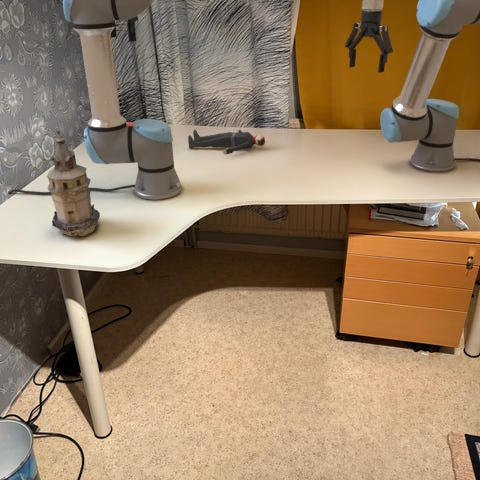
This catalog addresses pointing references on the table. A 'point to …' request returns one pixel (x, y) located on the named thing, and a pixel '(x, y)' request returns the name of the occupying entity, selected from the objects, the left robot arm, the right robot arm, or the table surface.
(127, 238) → the table surface
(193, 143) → the toy
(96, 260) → the table surface
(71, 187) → the miniature building
